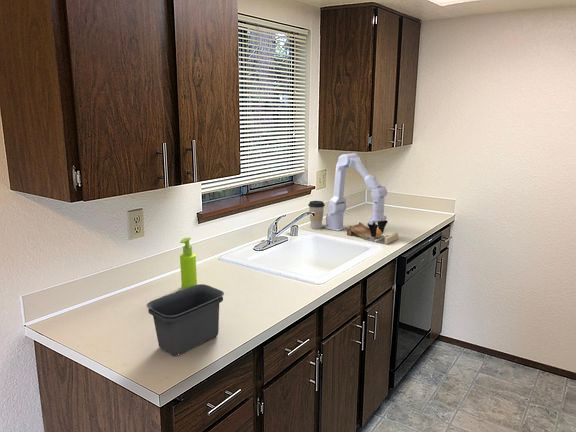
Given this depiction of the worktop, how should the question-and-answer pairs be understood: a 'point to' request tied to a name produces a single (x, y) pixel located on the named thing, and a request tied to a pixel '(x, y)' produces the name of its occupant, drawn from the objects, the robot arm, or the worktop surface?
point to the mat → (384, 239)
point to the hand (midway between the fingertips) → (377, 235)
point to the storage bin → (186, 317)
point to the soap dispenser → (188, 265)
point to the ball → (378, 233)
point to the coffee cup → (316, 213)
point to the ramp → (359, 231)
